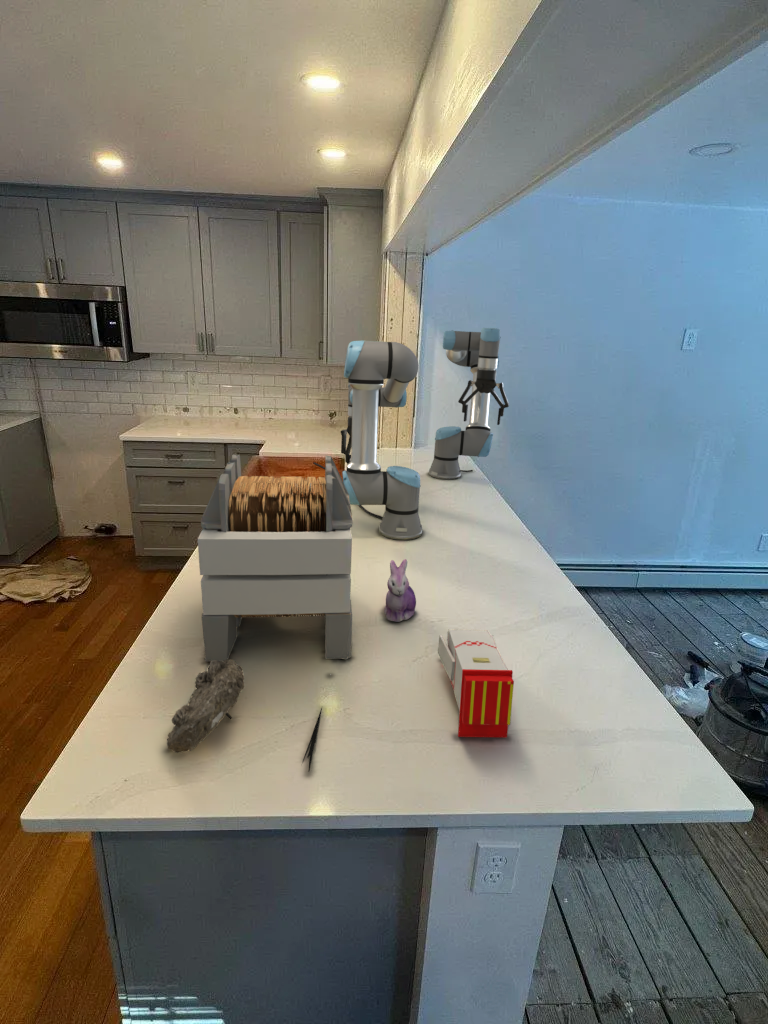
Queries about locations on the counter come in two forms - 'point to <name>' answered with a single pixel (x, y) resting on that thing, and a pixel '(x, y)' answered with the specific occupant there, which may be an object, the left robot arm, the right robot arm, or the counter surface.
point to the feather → (313, 740)
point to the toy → (478, 682)
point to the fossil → (206, 705)
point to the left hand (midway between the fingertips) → (355, 470)
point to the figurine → (399, 594)
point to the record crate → (276, 555)
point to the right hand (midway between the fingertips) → (481, 422)
